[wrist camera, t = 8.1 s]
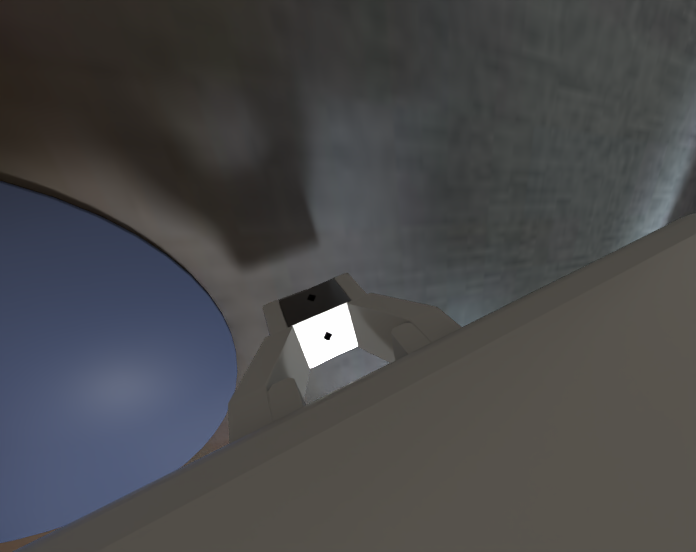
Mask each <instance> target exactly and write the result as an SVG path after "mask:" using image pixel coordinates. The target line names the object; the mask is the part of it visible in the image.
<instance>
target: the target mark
mask: <svg viewBox="0 0 696 552" xmlns="http://www.w3.org/2000/svg"><path fill="white" fill-rule="evenodd" d="M236 377H237V362H236V350H235V346H234V343H233V339H232V335H231V332H230V329H229V327H228V325H227V323H226V321H225V319H224V317H223V315H222V313H221V311H220V310H219V308H218V307H217V305H216V304H215V302H214V301H213V300H212V298H211V297H210V295H209V294H208V293H207V292H206V291H205V290H204V288H203V287H202V286H201V285H200V284H199V283H198V282H197V281H196V280H195V279H194V278H193V277H192V275H191V274H189V273H188V272H187V271H186V270H185V269H183V268H182V267H181V266H180V265H179V264H177V263H176V262H175V261H174V260H173V259H171V258H170V257H169V256H168V255H167V254H165V253H163V252H162V251H160V250H159V249H157V248H156V247H154V246H153V245H151V244H150V243H148V242H147V241H145V240H144V239H142V238H141V237H139V236H138V235H136V234H134V233H132V232H130V231H128V230H126V229H124V228H122V227H120V226H119V225H117V224H115V223H113V222H111V221H109V220H107V219H105V218H103V217H101V216H99V215H97V214H94V213H92V212H89V211H87V210H84V209H82V208H79V207H77V206H75V205H72V204H70V203H67V202H65V201H62V200H60V199H57V198H55V197H51V196H48V195H45V194H42V193H39V192H35V191H32V190H29V189H26V188H22V187H19V186H16V185H13V184H10V183H6V182H3V181H0V543H3V542H8V541H12V540H17V539H20V538H24V537H28V536H32V535H35V534H39V533H43V532H47V531H50V530H53V529H56V528H59V527H62V526H65V525H67V524H69V523H71V522H73V521H75V520H77V519H79V518H81V517H83V516H85V515H87V514H89V513H91V512H93V511H95V510H97V509H99V508H101V507H103V506H105V505H107V504H109V503H111V502H113V501H115V500H117V499H119V498H121V497H123V496H125V495H127V494H129V493H131V492H133V491H135V490H137V489H139V488H141V487H143V486H145V485H147V484H149V483H151V482H153V481H155V480H157V479H159V478H161V477H163V476H165V475H167V474H169V473H171V472H173V471H175V470H177V469H179V468H180V467H181V466H183V465H184V464H185V463H186V462H188V461H189V460H190V459H191V458H192V457H193V456H194V455H195V454H196V453H197V452H198V451H199V450H200V449H201V448H202V447H203V446H204V445H205V444H206V442H207V441H208V440H209V439H210V438H211V437H212V435H213V434H214V433H215V431H216V430H217V428H218V427H219V425H220V424H221V422H222V421H223V419H224V417H225V415H226V413H227V411H228V403H229V401H230V399H231V398H232V396H233V394H234V391H235V387H236Z"/></svg>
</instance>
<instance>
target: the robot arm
mask: <svg viewBox="0 0 696 552" xmlns="http://www.w3.org/2000/svg"><path fill="white" fill-rule="evenodd" d="M278 301H279V302H278ZM263 311H264V315H265V319H266V323H267V327H268V331H269V335H270V336H268V337H266V338H265V339H264V341H263V343H262V344H261V346H260V348H259V350H258V351H257V353H256V355H255V357H254V359H253V360H252V362H251V364H250V366H249V367H248V369H247V371H246V373H245V374H244V376H243V378H242V380H241V382H240V383H239V385H238V387H237V389H236V390H235V392H234V394H233V396H232V398H231V399H230V401H229V403H228V418H229V444H228V445H226V446H224V447H222V448H220V449H218V450H216V451H214V452H212V453H210V454H208V455H206V456H204V457H202V458H200V459H198V460H196V461H194V462H192V463H190V464H188V465H186V466H184V467H182V468H180V469H177V470H175V471H173V472H171V473H169V474H167V475H165V476H163V477H161V478H159V479H157V480H155V481H153V482H151V483H149V484H147V485H145V486H143V487H141V488H139V489H137V490H135V491H133V492H131V493H129V494H127V495H125V496H123V497H121V498H119V499H117V500H115V501H113V502H111V503H109V504H107V505H105V506H103V507H101V508H99V509H97V510H95V511H93V512H91V513H89V514H87V515H85V516H83V517H81V518H79V519H77V520H75V521H73V522H71V523H69V524H67V525H65V526H63V527H61V528H59V529H57V530H55V531H53V532H51V533H49V534H47V535H45V536H43V537H41V538H39V539H37V540H35V541H33V542H31V543H29V544H27V545H25V546H23V547H21V548H19V549H17V550H15V551H13V552H696V213H695V214H690V215H687V216H684V217H681V218H679V219H677V220H675V221H673V222H671V223H669V224H667V225H666V226H664V227H662V228H660V229H658V230H656V231H654V232H652V233H650V234H648V235H646V236H644V237H642V238H640V239H638V240H636V241H634V242H632V243H630V244H628V245H626V246H624V247H622V248H620V249H618V250H616V251H614V252H612V253H610V254H608V255H606V256H604V257H602V258H600V259H598V260H596V261H594V262H592V263H590V264H588V265H586V266H584V267H582V268H580V269H578V270H576V271H574V272H572V273H570V274H568V275H566V276H564V277H562V278H560V279H558V280H556V281H554V282H552V283H550V284H548V285H546V286H544V287H542V288H540V289H538V290H536V291H534V292H532V293H530V294H528V295H526V296H524V297H522V298H520V299H518V300H516V301H514V302H512V303H510V304H508V305H506V306H504V307H502V308H500V309H498V310H496V311H494V312H492V313H490V314H488V315H486V316H484V317H482V318H480V319H478V320H476V321H474V322H472V323H470V324H468V325H466V326H464V327H461V326H460V325H458V324H457V323H456V322H455V321H454V320H452V319H451V318H450V317H449V316H447V315H446V314H445V313H444V312H443V311H441V310H440V309H439V308H438V307H435V306H430V305H426V304H421V303H416V302H412V301H407V300H402V299H398V298H393V297H388V296H384V295H379V294H374V293H369V294H367V293H366V292H365V291H364V290H363V289H362V288H361V287H360V286H359V285H358V284H357V283H356V281H355V280H354V279H353V278H352V277H351V276H350V275H349V274H348V273H344V274H342V275H339V276H337V277H335V278H333V279H330V280H328V281H326V282H323V283H321V284H319V285H316V286H314V287H312V288H309V289H306V290H303V291H300V292H297V293H295V294H292V295H289V296H287V297H284V298H281V299H279V300H276V301H273V302H271V303H268V304H266V305H263ZM357 346H358V347H359V348H361V349H363V350H365V351H367V352H369V353H371V354H373V355H376V356H378V357H380V358H382V359H384V360H386V361H388V362H390V364H388V365H386V366H384V367H382V368H380V369H378V370H376V371H374V372H372V373H370V374H368V375H366V376H364V377H362V378H360V379H358V380H356V381H353V382H351V383H349V384H347V385H345V386H343V387H341V388H339V389H337V390H335V391H333V392H331V393H329V394H327V395H325V396H323V397H321V398H319V399H317V400H315V401H313V402H311V403H309V404H307V405H306V403H305V401H304V396H305V392H306V387H307V383H308V379H309V375H310V371H311V369H310V368H312V367H314V366H316V365H318V364H320V363H322V362H324V361H326V360H328V359H330V358H332V357H334V356H336V355H339V354H341V353H343V352H345V351H348V350H350V349H352V348H355V347H357Z"/></svg>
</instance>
